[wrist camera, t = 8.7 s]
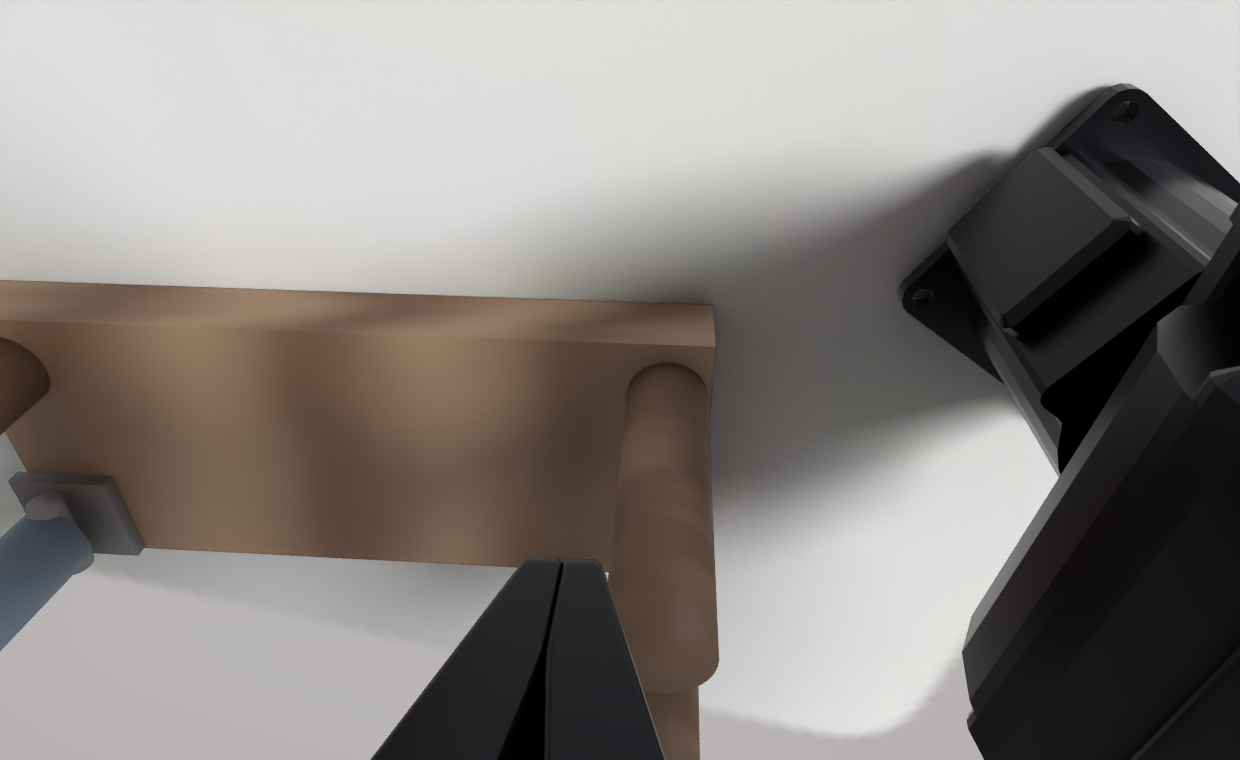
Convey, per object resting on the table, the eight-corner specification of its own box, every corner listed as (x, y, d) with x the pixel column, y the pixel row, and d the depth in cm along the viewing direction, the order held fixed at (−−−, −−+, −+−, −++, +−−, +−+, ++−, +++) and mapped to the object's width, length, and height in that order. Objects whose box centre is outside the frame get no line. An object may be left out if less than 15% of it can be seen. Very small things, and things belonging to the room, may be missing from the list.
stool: (712, 305, 20) (731, 603, 13) (695, 527, 25) (701, 848, 17) (-12, 279, 21) (-416, 540, 14) (97, 498, 26) (-157, 788, 18)
